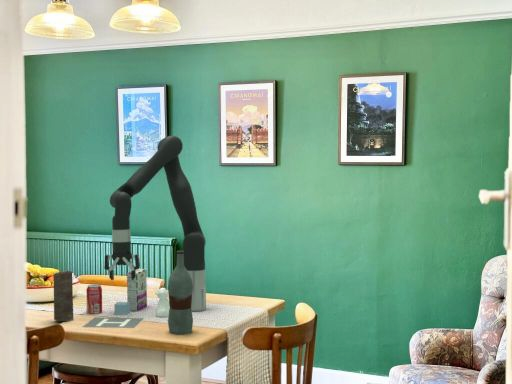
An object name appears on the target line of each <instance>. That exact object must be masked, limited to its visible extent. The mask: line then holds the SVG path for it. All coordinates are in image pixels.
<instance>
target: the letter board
mask: <svg viewBox="0 0 512 384" xmlns="http://www.w3.org/2000/svg"><path fill="white" fill-rule="evenodd" d="M144 319H145V318H143V317H142V318H141V317H137V318H136V317H93V318H92V319H91V320H90V321H87V323H85V324H84V325H83V326H82V328H109V329H111V328H113V329H114V328H115V329H117V328H118V329H119V328H120V329H135V328H136V327H137V326H138V325H139V324H140V323H141V322H142V321H143V320H144Z"/></svg>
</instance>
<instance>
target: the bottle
mask: <svg viewBox="0 0 512 384" xmlns="http://www.w3.org/2000/svg"><path fill="white" fill-rule="evenodd" d="M167 291H168V300H169V316H168V317H167V324H168V326H167V327H168V331H169V333H170V334H172V335H186V334H191V333H192V331H193V326H194V325H193V324H194V319H193V311H192V309H191V304H192V291H193V284H192V278H191V276H190V274H189V273H188V271H187V269H186V268H185V266H184V251H183V250H177V251H176V266H175V268H174V269H173V271H172V272H171V274H170V275H169V278H168V283H167Z"/></svg>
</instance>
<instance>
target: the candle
mask: <svg viewBox="0 0 512 384" xmlns="http://www.w3.org/2000/svg"><path fill="white" fill-rule="evenodd" d="M52 277H53V278H52V279H53V320H54V321H56V322H71V321H74V298H73V297H74V293H73V271H72V270H71V271H70V270H67V271H66V270H59V271H58V272H55V273H53V275H52Z"/></svg>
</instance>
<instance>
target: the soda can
mask: <svg viewBox="0 0 512 384" xmlns="http://www.w3.org/2000/svg"><path fill="white" fill-rule="evenodd" d="M102 313H103V288H102V286H101V285H100V284H89V285H87V287H86V314H88V315H99V314H102Z"/></svg>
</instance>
